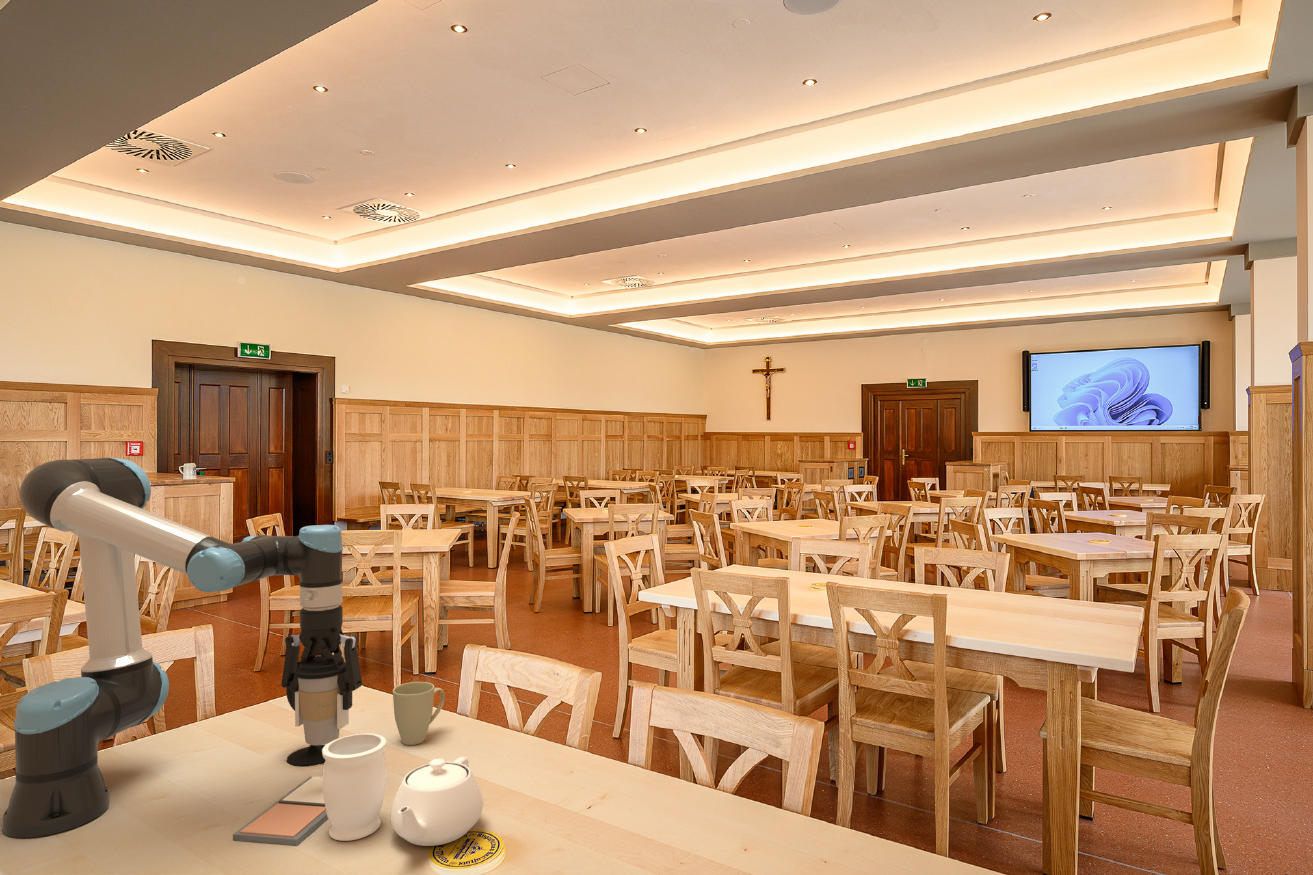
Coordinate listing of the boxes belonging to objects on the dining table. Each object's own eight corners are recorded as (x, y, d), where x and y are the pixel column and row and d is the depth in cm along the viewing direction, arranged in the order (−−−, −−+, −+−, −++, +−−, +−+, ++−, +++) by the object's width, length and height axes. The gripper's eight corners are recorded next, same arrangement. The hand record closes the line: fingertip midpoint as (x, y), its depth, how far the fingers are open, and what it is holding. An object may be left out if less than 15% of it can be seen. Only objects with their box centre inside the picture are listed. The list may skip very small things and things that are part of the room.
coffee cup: (328, 750, 138) (328, 669, 138) (283, 747, 140) (283, 666, 140) (358, 731, 147) (358, 655, 147) (316, 727, 149) (315, 652, 149)
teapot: (427, 795, 144) (427, 731, 144) (503, 801, 142) (503, 737, 142) (354, 869, 120) (353, 792, 120) (445, 878, 117) (445, 800, 117)
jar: (346, 851, 125) (346, 762, 124) (309, 834, 130) (309, 748, 130) (399, 823, 134) (399, 740, 133) (362, 808, 139) (362, 728, 139)
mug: (431, 749, 166) (431, 694, 166) (386, 748, 166) (386, 694, 166) (445, 729, 176) (445, 678, 176) (403, 729, 177) (403, 678, 177)
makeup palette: (232, 839, 128) (232, 831, 128) (310, 781, 150) (310, 773, 150) (297, 845, 126) (297, 836, 126) (365, 785, 148) (365, 777, 148)
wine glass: (349, 753, 163) (349, 661, 163) (304, 771, 155) (304, 674, 155) (320, 742, 169) (320, 654, 169) (276, 759, 160) (276, 666, 160)
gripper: (258, 609, 141) (259, 729, 141) (361, 612, 138) (362, 735, 138) (284, 600, 149) (284, 714, 149) (382, 603, 146) (382, 720, 146)
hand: (322, 724), depth 144 cm, fingers closed on coffee cup, 8 cm apart
